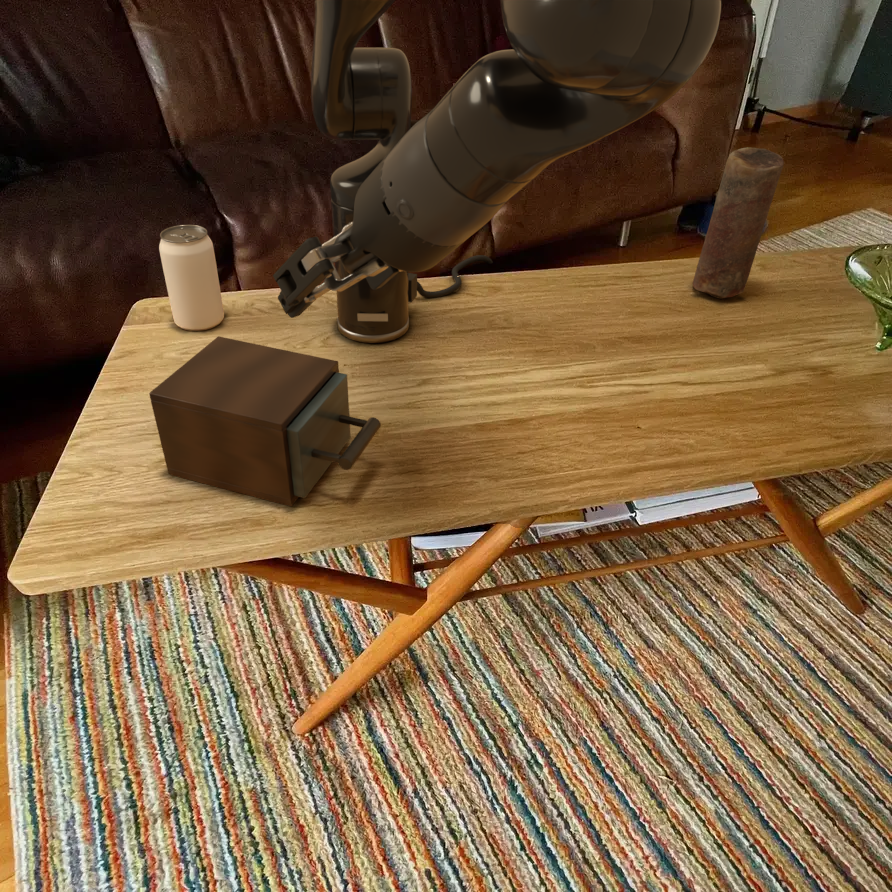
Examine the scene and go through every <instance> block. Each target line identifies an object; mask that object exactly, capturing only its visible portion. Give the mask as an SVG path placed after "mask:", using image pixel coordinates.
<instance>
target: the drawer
mask: <svg viewBox="0 0 892 892" xmlns="http://www.w3.org/2000/svg"><path fill="white" fill-rule="evenodd" d="M348 384H349V382H348V374H346V373H342V372H339V373H338V372H336V373H335V374H334V376H333V377H332V378H331V379H330V380H329V381H328V382H327V384H326V385H325V386H324V387H323V388H322V387H321V388H320V389H319V390H318V392H317V393H316V394H315V395H314V396H313V397H312V398H311V399H310V401H309V402H308V403H307V404H306V405H305V406H304V407H303V408H302V410H301V411H300V412H299V413H298V414H297V415H296V416H295V417H294V419H293V420H292V421H291V422H290V423H289V424H288V425H287V439H288V447H289V456H290V464H291V473H292V482H293V490H294V495H295V496H298V498H303V499H306V498H307V497H308V495H309V494H310V492H311V491H312V490H313V488H314V487H315V485H316V484H317V483H318V482H319V480H320V479H321V478H322V476H323V475H324V474H325V472H326V471H327V470H328V469H329V467H330V466H331V464H332V463H336V464H338V467H340V468H341V469H342V470H344V471H349V470H351V469H352V468H353V466H354V465H355V464H356V462H357V461H358V460H359V458H360V456H361V455H362V454H363V452H364V451H365V450H366V448H367V447H368V445H369V444H370V443H371V441H372V439H373V438H374V437H375V435H376V434H377V432H379V430H380V428H381V427H382V424H381V421H380V419H379V418H377V417H373V416H372V417H369V418H368V419H367V420H366V419H364V418H363V419H362V418H358V417H354V416H350V403H349V402H350V401H349V385H348ZM351 426H354V427H359V428H360V430H359V431H358V433H357V434H356V435H355V437H354V438H353V439H352V441H351V442H350V443H349V445H348V446H347V447H346V449H345V450H344V451H343V453H342V454H339V453H340V452H341V451H342V450H343V448H344V447H345V446H346V444H347V443H348V442H349V440H350V439H351Z"/></svg>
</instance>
